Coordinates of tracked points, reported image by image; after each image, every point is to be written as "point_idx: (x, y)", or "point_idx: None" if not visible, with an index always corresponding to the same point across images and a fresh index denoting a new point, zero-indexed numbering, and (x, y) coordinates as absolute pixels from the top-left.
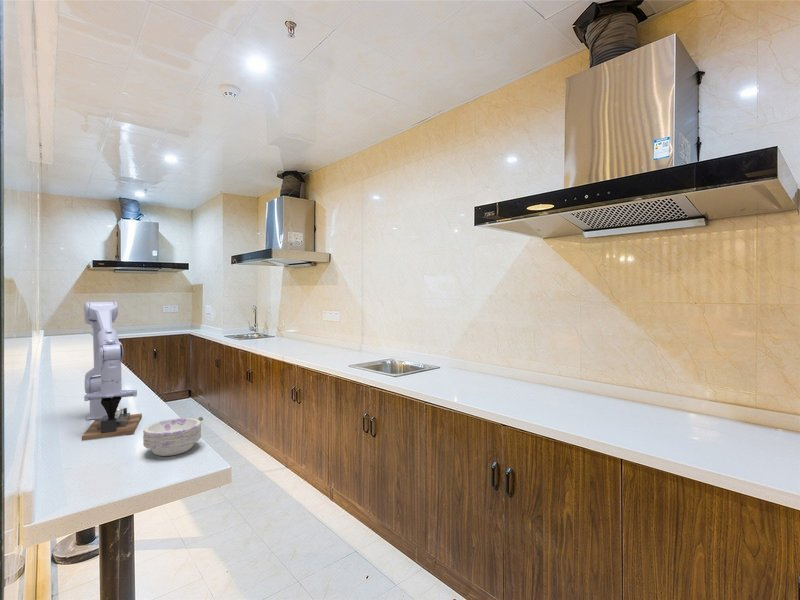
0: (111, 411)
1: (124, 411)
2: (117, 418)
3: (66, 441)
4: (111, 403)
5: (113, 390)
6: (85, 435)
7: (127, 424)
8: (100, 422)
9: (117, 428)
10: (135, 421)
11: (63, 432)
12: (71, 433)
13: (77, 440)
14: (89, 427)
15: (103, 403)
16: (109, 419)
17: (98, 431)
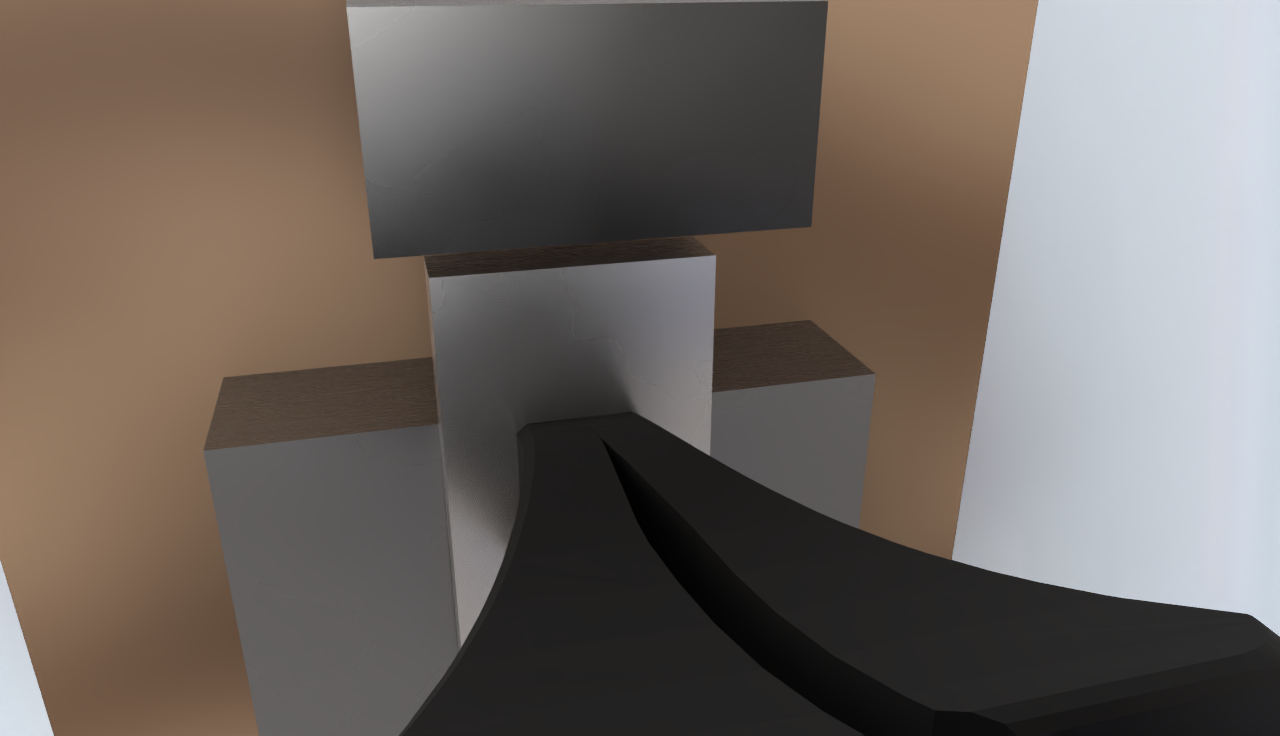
0: (632, 522)
1: None
2: (454, 576)
3: (1196, 46)
4: (753, 702)
5: None
6: None
7: None
8: (813, 474)
9: (383, 273)
10: (108, 713)
11: (1213, 562)
12: (1128, 484)
13: (1046, 23)
14: (947, 528)
15: (1177, 638)
16: (586, 132)
17: None
